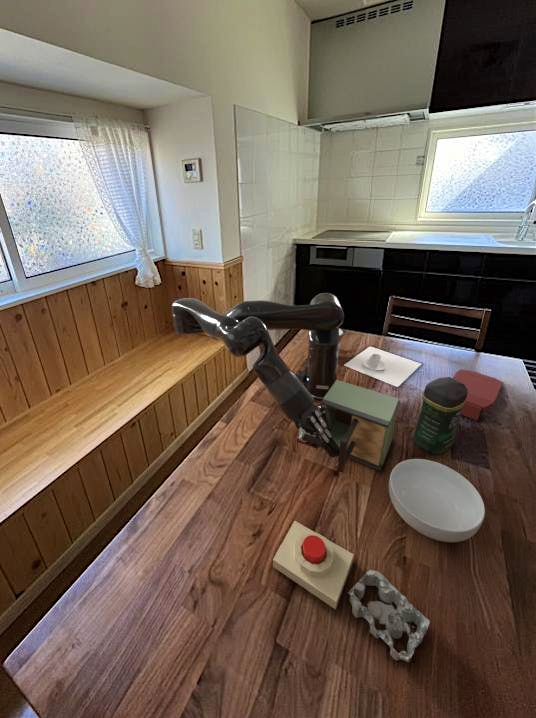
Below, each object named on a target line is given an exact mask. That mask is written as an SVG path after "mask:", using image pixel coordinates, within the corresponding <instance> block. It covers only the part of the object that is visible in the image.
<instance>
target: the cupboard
mask: <svg viewBox="0 0 536 718" xmlns="http://www.w3.org/2000/svg"><path fill="white" fill-rule="evenodd" d="M399 404H400V397H399V398H398V397H395V396H393V395H389V394H386V393H382V392H378V391H377V390H373V389H368V388H366V387H363V386H359V385H356V384H353V383H349V382H345V381H343V380H339V379H336V382H335V383H334V384H333V386H332V387H331V389H330V390H329V391H328V393H327V394H326V395H325V397H324V398H323V400H320V405H321V407H323V406H326V407H327V409H328V413H329V417H330V420H331V424H332V427H333V431H331V435H332V438H333V440H334V441H335V442H336V444H337V445H338V446H339V448H340V441H341V439H342V438H344V436H345V434H346V432H347V431H348V429H349V427H350V425H351V420H352V415H353V416H356V417H359V418H362V419H364V420H367V421H370V422H373V423H376V424H379V425H381V426H384V427H386V430H385V436H384V442H383V448H382V454H381V459H380V465H379V466H377V465H375V464H373V463H370V462H368V461H365V460H363V459H361V458H358V457H356V456H353V455H350V457H349V459H350V460H352V461H355V462H357V463H359V464H362V465H365V466H367V467H369V468H371V469H374V470H376V471H379V472H381V471H382V468H383V466H384V463H385V460H386V458H387V455H388V452H389V450H390V447H391V444H392V441H393V435H394V431H395V425H396V420H397V414H398V409H399ZM325 423H326V422H325ZM319 438H320V437H319ZM320 439H321V438H320ZM348 446H349V441H348V443H347V449H348ZM346 451H347V450H346Z"/></svg>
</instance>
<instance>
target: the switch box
mask: <svg viewBox="0 0 536 718" xmlns="http://www.w3.org/2000/svg"><path fill="white" fill-rule="evenodd" d="M310 535H315V536H318V537H319V538H321V539H322V540H323V542H324V544H325V547H326V551H325V558H324V560H323V561H322V562H321V563H318V564H314V563H311V562H309V561H308V560H307V559H306V558H305V557H304V555H303V541H304V539H305V538H306V537H307V536H310ZM354 556H355V554H353V553H352V552H350V551H348V550H347V549H345V548H343V547H341V546H339V545H338V544H336V543H335V542H333V541H331V540H329V539H328V538H327V537H325V536H323V535H322V534H320V533H318V532H316V531H314V530H312V529H310V528H308V526H307V527H306V526H305V525H304V524H302V523H301V522H300V523H299V522H298V521H296V520H294V521H293V522H292V524H291V526H290V528H289V530H288V532H287V533H286V535H285V537H284V539H283V541H282V543H280V546H279V548H278V549H277V551H276V553H275V555H274V557H273V559H272V568H274V569H276V570H277V571H279V572H280V573H282V574H283V575H284V576H285V577H287V578H289V579H290V580H292V581H293V582H295V583H296V584H298V585H299V586H300V587H302V588H303V589H305V590H306V591H308V592H309V593H311V594H312V595H314V596H315V597H317V598H318V599H320V600H321V601H322V602H324V603H325V604H326V605H328V606H329V607H331V608H332V609H334V610H337V607H338V604H339V602H340V599H341V597H342V594H343V590H344V587H345V586H346V582H347V581H348V577H349V574H350V571H351V569H352V565H353V563H354V558H355V557H354Z"/></svg>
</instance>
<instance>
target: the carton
mask: <svg viewBox="0 0 536 718" xmlns="http://www.w3.org/2000/svg"><path fill="white" fill-rule="evenodd" d="M452 378H453V379H455V380H457V381H459V382H461V383H463V384H464V385H465V386H466V388H467V390H468V394H467V398H466V401H465V404H464V406H463V409H462V412H461V415H462V416H464V417H467V418H469V419H472V420H475V421H479V418H480V415H481V412H485V411H487V410H488V409H490V408H492V407H494V404H495V402H496V400H497V398H498V396H499V393H500V391H501V389H502V387H503V384H504V381H502V380H499V379H498V378H496V377H493V376H490V375H486V374H483V373H479V372H477V371H473V370H470V369H464V368H463V369H462V368H460V369H459V370H458V371H457V372H456V373H455V374H454V375H453V377H452ZM461 415H460V416H461Z"/></svg>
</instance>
